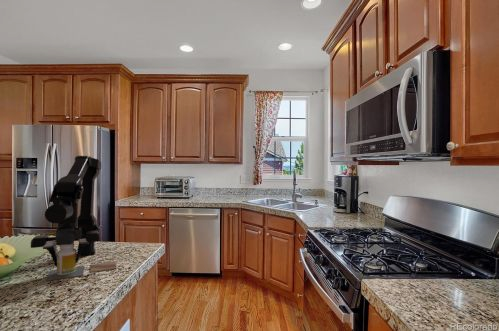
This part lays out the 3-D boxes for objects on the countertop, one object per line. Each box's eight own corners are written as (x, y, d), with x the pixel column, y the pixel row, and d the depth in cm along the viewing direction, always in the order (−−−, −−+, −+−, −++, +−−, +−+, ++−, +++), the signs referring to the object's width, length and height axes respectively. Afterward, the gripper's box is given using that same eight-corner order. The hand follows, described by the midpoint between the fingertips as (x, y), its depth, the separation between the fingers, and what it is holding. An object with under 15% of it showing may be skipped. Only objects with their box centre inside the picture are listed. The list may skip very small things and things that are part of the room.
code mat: (50, 270, 93) (50, 270, 93) (84, 266, 98) (84, 265, 98) (45, 281, 85) (45, 280, 85) (82, 275, 89) (82, 275, 89)
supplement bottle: (79, 270, 94) (80, 241, 94) (67, 276, 88) (68, 246, 89) (65, 269, 94) (65, 241, 95) (52, 275, 89) (53, 245, 89)
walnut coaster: (90, 265, 99) (90, 264, 99) (115, 262, 103) (115, 261, 103) (90, 272, 92) (90, 271, 92) (116, 268, 96) (116, 267, 96)
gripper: (27, 224, 80) (25, 277, 80) (99, 219, 89) (98, 267, 89) (35, 218, 90) (33, 265, 90) (99, 214, 99) (98, 257, 99)
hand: (66, 264), depth 91 cm, fingers closed on supplement bottle, 5 cm apart
